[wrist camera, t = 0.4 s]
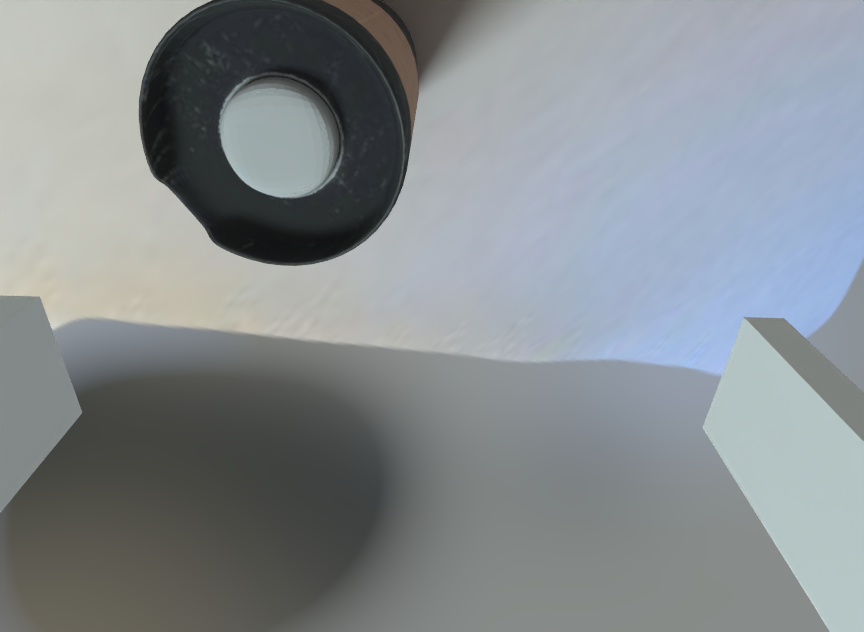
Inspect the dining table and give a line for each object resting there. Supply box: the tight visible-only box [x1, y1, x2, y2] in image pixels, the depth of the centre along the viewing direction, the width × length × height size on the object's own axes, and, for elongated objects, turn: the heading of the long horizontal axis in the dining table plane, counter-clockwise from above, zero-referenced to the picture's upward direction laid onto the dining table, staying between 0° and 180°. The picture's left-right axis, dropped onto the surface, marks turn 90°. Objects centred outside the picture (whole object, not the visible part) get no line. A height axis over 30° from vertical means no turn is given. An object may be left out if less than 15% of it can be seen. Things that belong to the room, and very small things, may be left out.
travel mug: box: [139, 0, 419, 266], centre depth 24 cm, size 8×8×20 cm
